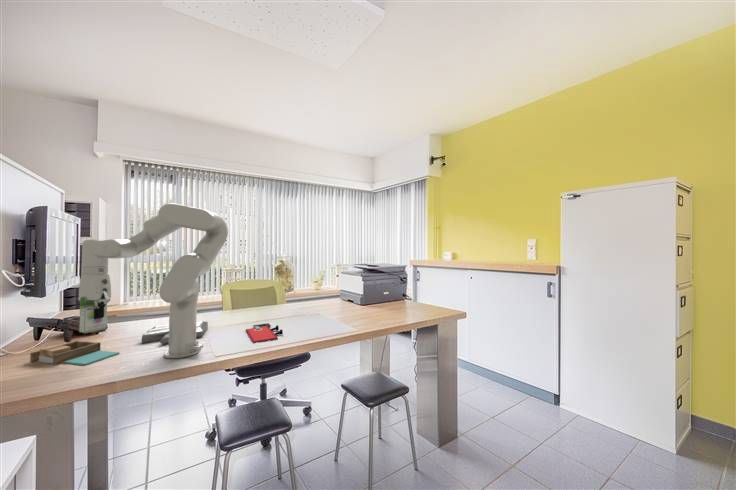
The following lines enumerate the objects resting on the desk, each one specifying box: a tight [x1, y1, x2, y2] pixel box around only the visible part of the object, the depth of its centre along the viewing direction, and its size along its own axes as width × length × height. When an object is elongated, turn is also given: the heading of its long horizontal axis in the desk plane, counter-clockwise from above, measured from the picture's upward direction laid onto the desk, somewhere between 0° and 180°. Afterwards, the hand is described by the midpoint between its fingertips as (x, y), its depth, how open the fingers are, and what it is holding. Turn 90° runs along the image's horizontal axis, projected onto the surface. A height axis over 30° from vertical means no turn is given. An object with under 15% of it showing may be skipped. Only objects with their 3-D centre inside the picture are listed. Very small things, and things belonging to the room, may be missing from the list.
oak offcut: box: [39, 344, 71, 358], centre depth 110 cm, size 8×5×2 cm
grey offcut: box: [38, 356, 53, 364], centre depth 111 cm, size 8×6×2 cm
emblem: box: [141, 320, 209, 345], centre depth 142 cm, size 28×5×28 cm
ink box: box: [78, 297, 108, 334], centre depth 112 cm, size 7×4×13 cm, turn 161°
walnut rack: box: [29, 340, 101, 366], centre depth 114 cm, size 12×15×4 cm
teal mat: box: [63, 350, 120, 367], centre depth 112 cm, size 10×12×1 cm
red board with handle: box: [245, 322, 284, 344], centre depth 149 cm, size 30×3×15 cm
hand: (93, 317), depth 112 cm, fingers closed on ink box, 4 cm apart
